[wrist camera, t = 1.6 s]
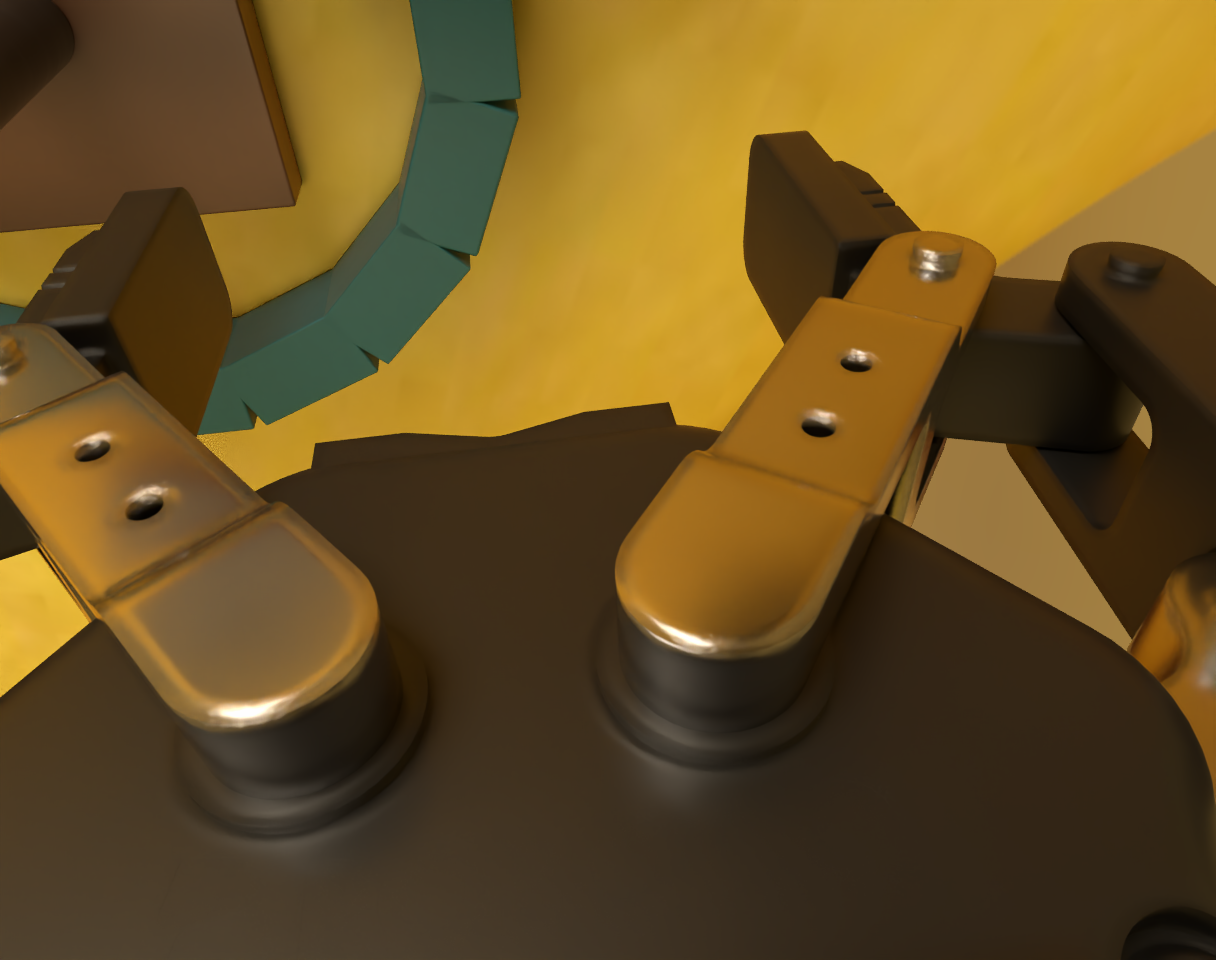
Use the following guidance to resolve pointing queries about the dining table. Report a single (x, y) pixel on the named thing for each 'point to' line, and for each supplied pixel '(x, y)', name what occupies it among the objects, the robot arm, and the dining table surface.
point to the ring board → (136, 109)
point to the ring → (387, 232)
